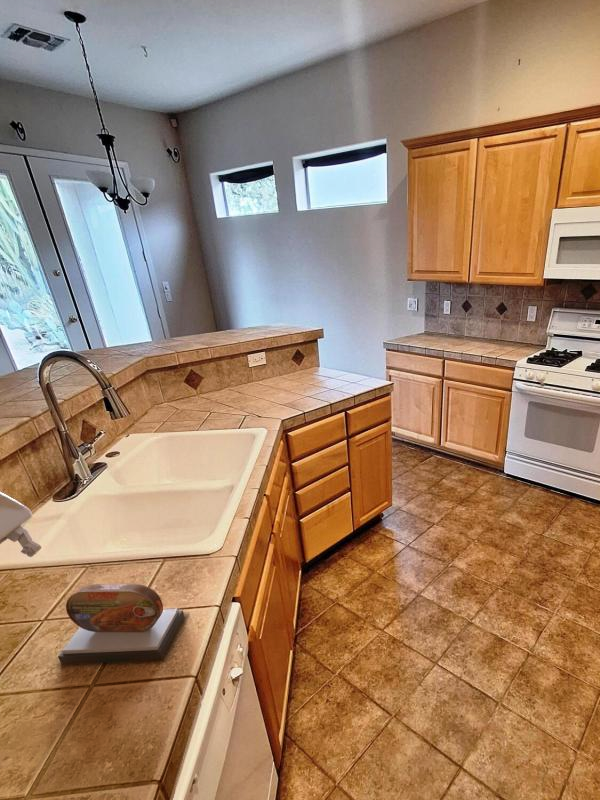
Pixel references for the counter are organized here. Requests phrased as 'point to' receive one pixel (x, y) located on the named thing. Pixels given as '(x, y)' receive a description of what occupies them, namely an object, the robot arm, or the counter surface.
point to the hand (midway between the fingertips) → (15, 569)
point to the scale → (123, 643)
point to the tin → (115, 608)
